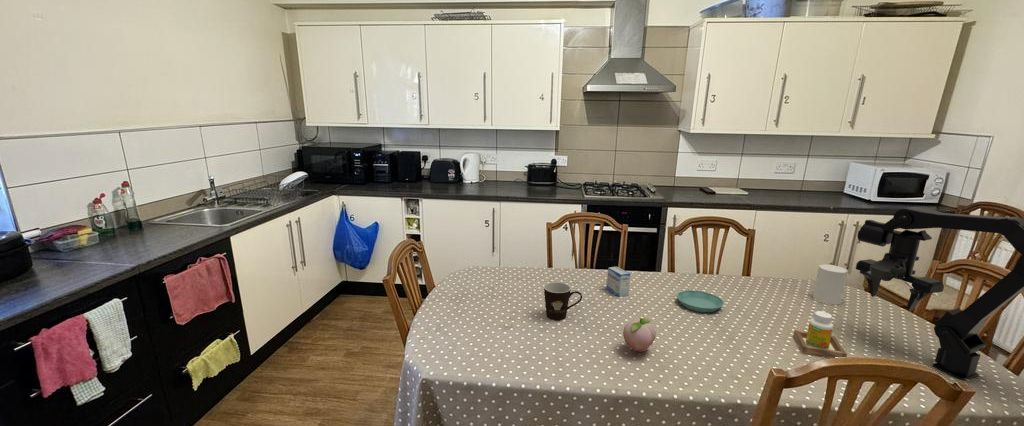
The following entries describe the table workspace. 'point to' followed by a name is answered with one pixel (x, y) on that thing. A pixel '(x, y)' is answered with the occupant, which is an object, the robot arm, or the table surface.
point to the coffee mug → (558, 300)
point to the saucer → (700, 301)
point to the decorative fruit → (639, 334)
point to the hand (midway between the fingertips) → (890, 303)
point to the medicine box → (618, 281)
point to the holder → (831, 352)
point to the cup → (830, 284)
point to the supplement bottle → (820, 330)
